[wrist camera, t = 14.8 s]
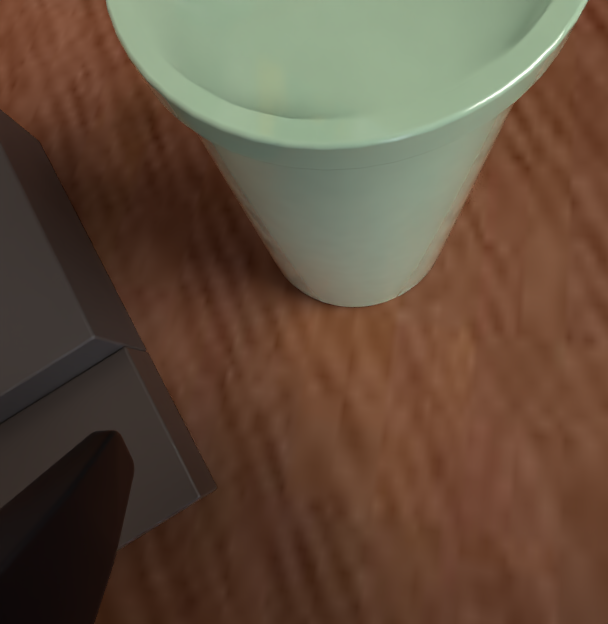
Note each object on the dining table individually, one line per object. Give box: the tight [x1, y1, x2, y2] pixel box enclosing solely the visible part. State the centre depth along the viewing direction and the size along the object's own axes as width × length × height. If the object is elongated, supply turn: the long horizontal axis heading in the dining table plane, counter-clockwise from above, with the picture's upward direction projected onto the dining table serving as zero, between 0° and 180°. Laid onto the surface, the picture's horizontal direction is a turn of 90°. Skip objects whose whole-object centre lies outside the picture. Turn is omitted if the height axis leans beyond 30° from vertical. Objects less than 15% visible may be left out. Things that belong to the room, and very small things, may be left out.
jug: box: [106, 0, 589, 307], centre depth 11 cm, size 9×6×10 cm
